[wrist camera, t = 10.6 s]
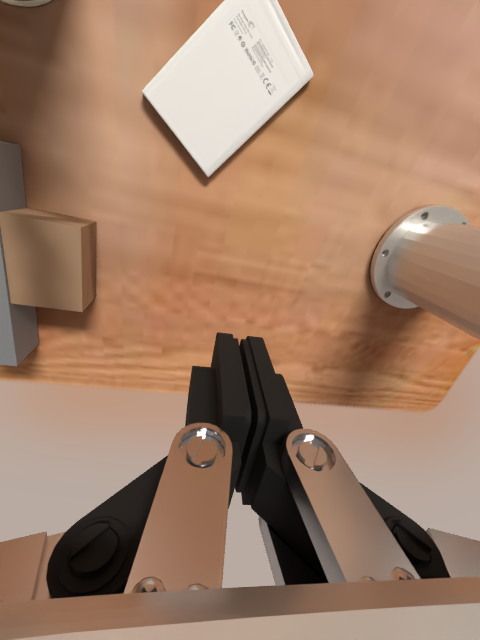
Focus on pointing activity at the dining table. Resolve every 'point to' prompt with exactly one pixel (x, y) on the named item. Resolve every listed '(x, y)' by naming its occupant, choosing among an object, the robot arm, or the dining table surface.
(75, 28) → the dining table surface
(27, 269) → the walnut block
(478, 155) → the dining table surface
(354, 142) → the dining table surface
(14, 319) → the board
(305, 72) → the external hard drive
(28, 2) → the coffee can
